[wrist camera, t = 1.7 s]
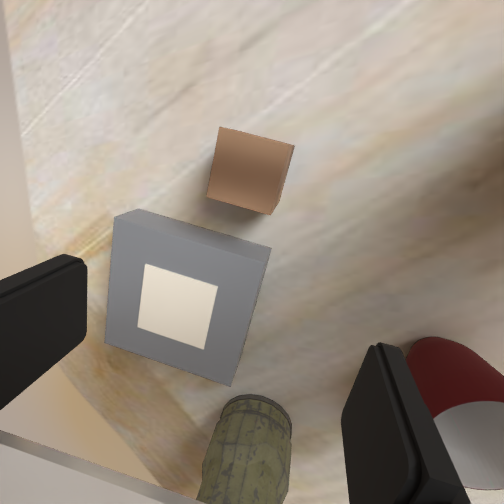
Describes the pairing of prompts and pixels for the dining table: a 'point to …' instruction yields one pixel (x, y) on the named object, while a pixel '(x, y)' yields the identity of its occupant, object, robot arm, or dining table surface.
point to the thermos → (248, 454)
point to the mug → (463, 408)
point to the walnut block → (249, 170)
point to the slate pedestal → (182, 293)
